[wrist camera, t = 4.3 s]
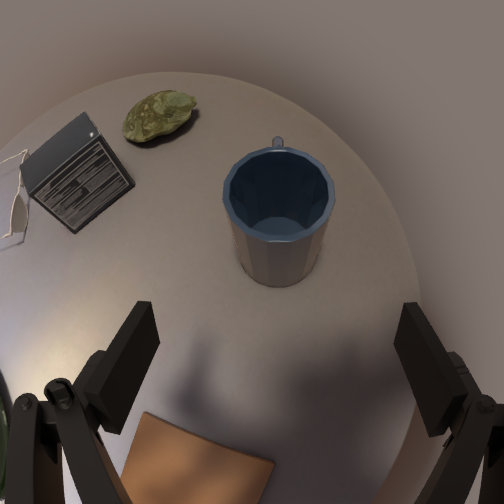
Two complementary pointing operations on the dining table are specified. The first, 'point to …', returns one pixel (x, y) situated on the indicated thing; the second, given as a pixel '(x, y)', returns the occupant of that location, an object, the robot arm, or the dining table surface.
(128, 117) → the seashell
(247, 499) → the cork mat
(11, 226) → the eyeglasses
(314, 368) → the dining table surface
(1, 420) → the plate
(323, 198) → the mug
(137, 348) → the robot arm
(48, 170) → the small box
